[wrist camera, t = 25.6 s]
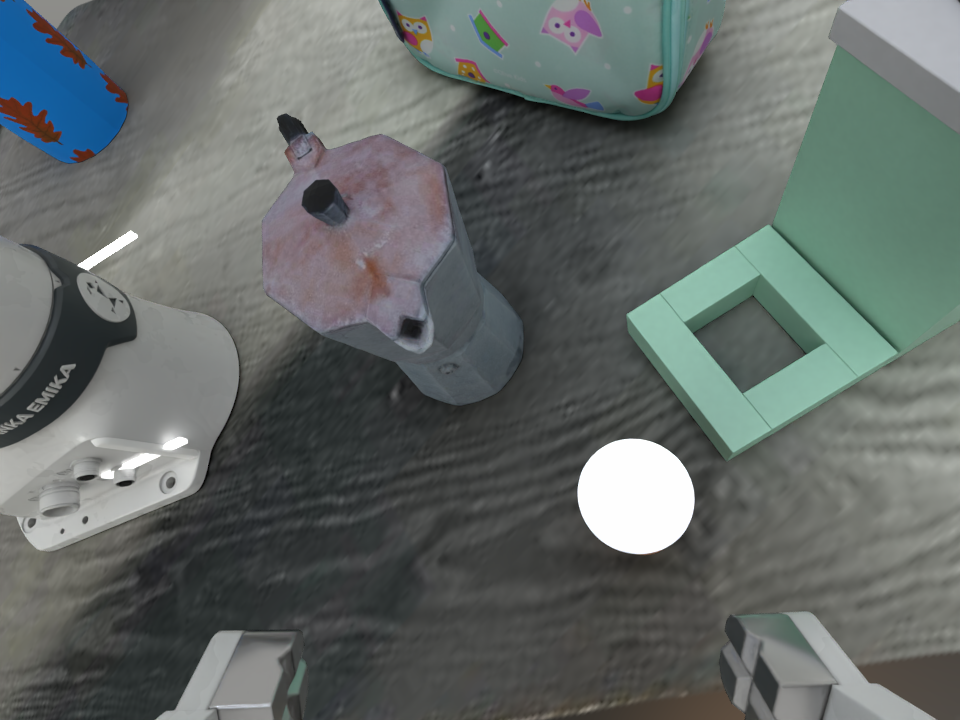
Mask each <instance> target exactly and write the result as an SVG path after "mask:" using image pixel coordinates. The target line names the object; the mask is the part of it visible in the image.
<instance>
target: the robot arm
mask: <svg viewBox="0 0 960 720" xmlns="http://www.w3.org/2000/svg"><path fill="white" fill-rule="evenodd" d="M137 237H138V236H137V234H135V233H133V232H132V231H130V232H128V233H127V234H125V235H124V236H122V237H120V238H119V239H117V240H116V241H114V242H113V243H111V244H110V245H108V246H107V247H105V248H104V249H102V250H100V251H99V252H97V253H96V254H94V255H93V256H91V257H90V258H88V259H87V260H85V261H84V262H82V263H80V264H79V265H76V264H74V263H72V262H70V261H67V260H65V259H63V258H61V257H59V256H57V255H55V254H52V253H50V252H48V251H46V250H44V249H42V248H39V247H37V246H34V245H28V244H17V243H15V242H13V241H11V240H9V239H7V238H4V237H2V236H0V513H1V514H4V515H10V516H16V517H17V520H18V523H19V525H20V528H21V530H22V532H23V533H24V535H25V536H26V538H27V540H28V541H29V542H30V543H31V544H32V545H33V546H34V547H35V548H36V549H38V550H41V551H50V552H51V551H55V550H58V549H60V548H63V547H65V546H68V545H70V544H73V543H75V542H78V541H80V540H83V539H85V538H87V537H90V536H92V535H95V534H97V533H100V532H102V531H104V530H107V529H109V528H112V527H114V526H117V525H119V524H122V523H124V522H126V521H129V520H131V519H134V518H136V517H139V516H141V515H143V514H146V513H148V512H151V511H153V510H156V509H158V508H161V507H163V506H165V505H168V504H170V503H173V502H175V501H178V500H180V499H182V498H185V497H187V496H190V495H192V494H194V493H195V492H197V491H198V490H199V488H200V487H201V486H202V484H203V481H204V479H205V476H206V472H207V468H208V464H209V459H210V454H211V450H212V448H213V445H214V443H215V441H216V440H217V438H218V436H219V434H220V433H221V431H222V429H223V427H224V426H225V424H226V422H227V420H228V417H229V415H230V413H231V410H232V408H233V405H234V401H235V398H236V394H237V389H238V382H239V360H238V354H237V350H236V347H235V344H234V342H233V339H232V337H231V336H230V334H229V332H228V331H227V330H226V328H225V327H224V326H223V325H222V324H221V323H220V322H218V321H217V320H216V319H214V318H212V317H210V316H208V315H206V314H202V313H198V312H192V311H186V310H180V309H176V308H172V307H168V306H164V305H161V304H157V303H154V302H151V301H148V300H145V299H142V298H139V297H136V296H133V295H130V294H127V293H125V292H122V291H121V290H119V289H118V288H116V287H115V286H113V285H112V284H110V283H108V282H107V281H105V280H104V279H102V278H100V277H99V276H97V275H95V274H93V273H92V272H90V271H88V269H90V268H91V267H93V266H94V265H96V264H97V263H99V262H100V261H102V260H103V259H105V258H107V257H108V256H110V255H111V254H113V253H114V252H116V251H117V250H119V249H120V248H122V247H124V246H125V245H127V244H128V243H130V242H131V241H133V240H134V239H136V238H137ZM174 481H175V485H174ZM173 485H174V486H173ZM725 632H726V634H727V636H728V638H729V639H730V640H729V641H728V642H727V643H726V644H725V645H724V646H723V647H722V648H721V653H720V660H719V665H720V673H721V679H722V682H723V685H724V688H725V691H726V693H727V695H728V697H729V699H730V701H731V703H732V704H733V705H734V706H735V707H737V708H738V709H739V710H741V711H742V712H743V713H744V714H746V716H745V720H936V719H935V718H933V717H932V716H930V715H928V714H927V713H925V712H924V711H922V710H920V709H919V708H917V707H915V706H914V705H912V704H910V703H909V702H907V701H906V700H904V699H902V698H901V697H899V696H897V695H896V694H894V693H892V692H891V691H889V690H888V689H886V688H884V687H882V686H881V685H879V684H870V683H869V682H868V681H867V680H866V679H865V677H864V676H863V675H862V673H861V672H860V671H859V670H858V668H857V667H856V666H855V665H854V664H853V662H852V661H851V660H850V659H849V657H848V656H847V655H846V654H845V652H844V651H843V650H842V649H841V647H840V646H839V645H838V644H837V642H836V641H835V640H834V639H833V637H832V636H831V635H830V634H829V632H828V631H827V630H826V629H825V627H824V626H823V625H822V624H821V623H820V621H819V620H818V619H817V618H816V616H815V615H813V614H812V613H810V612H808V611H803V612H782V613H759V614H737V615H730V616H729V618H728V619H727V621H726V626H725ZM304 646H305V644H304V638H303V633H302V631H301V630H246V631H218V632H217V633H216V634H215V635H214V636H213V637H212V639H211V641H210V643H209V645H208V647H207V649H206V650H205V652H204V654H203V656H202V658H201V660H200V662H199V664H198V666H197V668H196V670H195V672H194V674H193V676H192V678H191V680H190V682H189V683H188V685H187V687H186V689H185V691H184V693H183V695H182V697H181V699H180V701H179V703H178V705H177V707H176V709H175V711H165V712H164V713H163V714H162V715H160V716H159V717H158V718H157V719H155V720H302V719H303V715H304V711H305V707H306V702H307V694H308V666H307V663H306V662H305V661H304V660H303V659H302V658H301V656H302V652H303V649H304Z"/></svg>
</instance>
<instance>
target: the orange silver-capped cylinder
mask: <svg viewBox="0 0 960 720" xmlns="http://www.w3.org/2000/svg"><path fill="white" fill-rule="evenodd" d="M577 496H578V504H579V508H580V512H581V514H582V517H583V519H584V521H585V523H586V524H587V526H588V527H589V529H590V530H591V531H592V532H593V534H594V535H595V536H596V537H597V538H598V539H600V540H601V541H602V542H603V543H605V544H606V545H608V546H610V547H612V548H614V549H616V550H618V551H621V552H625V553H629V554H637V555H650V554H655V553H658V552H660V551H662V550H664V549H665V548H667V547H669V546H670V545H672V544H673V543H675V542H676V541H677V540H678V539H679V538H680V537H681V536H682V535H683V533H684V532H685V531H686V529H687V527H688V526H689V524H690V521H691V519H692V516H693V511H694V504H695V495H694V489H693V484H692V481H691V478H690V476H689V474H688V472H687V470H686V469H685V467H684V465H683V464H682V463H681V462H680V460H679V459H678V458H677V457H676V456H675V455H674V454H673V453H671V452H670V451H669V450H667V449H666V448H664V447H662V446H661V445H658V444H656V443H654V442H651V441H647V440H642V439H622V440H618V441H615V442H612V443H609V444H607V445H605V446H604V447H602V448H601V449H599V450H598V451H597V452H595V453H594V454H593V455H592V456H591V458H590V459H589V460H588V461H587V463H586V464H585V466H584V468H583V470H582V472H581V475H580V478H579V482H578V493H577Z"/></svg>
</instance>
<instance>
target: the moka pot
mask: <svg viewBox="0 0 960 720" xmlns="http://www.w3.org/2000/svg"><path fill="white" fill-rule="evenodd" d="M277 120H278V123H279V130H280V132H281V133H282V135H283V136H284V138H285V140H286V141H287V143H288V145H289V146H288V148H287V149H286V150H285V152H284V153H285V155H286V157H287V158H288V160H289V162H290V164H291V166H292V168H293V170H294V176H293V178H292V179H291V181H290V182H289V184H288V185H287V187H286V188H285V189H284V191H283V192H282V193H281V195H280V196H279V197H278V199H277V200H276V202H275V203H274V204H273V206H272V207H271V208H270V210H269V211H268V213H267V214H266V215H265V217H264V218H263V220H262V265H263V289H264V291H265V293H266V295H267V296H269V297H270V298H271V299H273V300H274V301H276V302H277V303H278V304H280V305H281V306H282V307H284V308H285V309H286V310H288V311H289V312H291V313H292V314H293V315H295V316H296V317H297V318H299V319H300V320H301V321H303V322H304V323H305V324H307V325H308V326H309V327H311V328H312V329H314V330H315V331H317V332H318V333H320V334H321V335H323V336H325V337H328V338H331V339H334V340H336V341H339V342H342V343H345V344H347V345H350V346H352V347H355V348H358V349H361V350H364V351H366V352H369V353H371V354H374V355H377V356H380V357H382V358H385V359H387V360H390V361H394V362H396V363H397V364H398V365H399V367H400V368H401V369H402V370H403V371H404V372H405V374H406V375H407V376H408V377H409V378H410V379H411V381H412V382H413V383H414V384H415V385H416V386H417V387H418V389H419V390H420V391H421V392H422V393H423V394H424V395H426V396H429V397H431V398H434V399H436V400H439V401H442V402H445V403H449V404H451V405H459V406H462V405H467V404H471V403H475V402H477V401H480V400H483V399H485V398H487V397H489V396H492V395H494V394H496V393H497V392H499V391H500V390H501V389H502V388H503V387H504V385H505V384H506V383H507V382H508V381H509V380H510V378H511V377H512V375H513V374H514V372H515V370H516V369H517V367H518V365H519V364H520V362H521V359H522V354H523V339H524V336H523V322H522V320H521V318H520V317H519V315H518V314H517V313H516V311H515V310H514V309H513V308H512V306H511V305H510V304H509V303H508V301H507V300H506V299H505V298H504V296H503V295H502V294H501V293H500V292H499V291H498V290H497V289H496V288H495V287H493V286H492V285H491V284H490V283H489V282H488V281H487V280H485V279H484V278H483V277H482V276H481V275H480V274H479V273H478V272H477V270H476V264H475V259H474V254H473V250H472V247H471V244H470V241H469V238H468V235H467V232H466V229H465V226H464V223H463V220H462V217H461V214H460V211H459V208H458V205H457V202H456V199H455V195H454V192H453V189H452V186H451V183H450V180H449V177H448V173H447V170H446V168H445V166H444V165H442V164H441V163H438V162H436V161H435V160H433V159H431V158H429V157H427V156H425V155H424V154H422V153H420V152H418V151H416V150H414V149H412V148H410V147H408V146H406V145H404V144H402V143H400V142H398V141H396V140H394V139H392V138H390V137H388V136H385V135H382V134H379V135H374V136H370V137H367V138H365V139H362V140H359V141H356V142H352V143H349V144H346V145H344V146H341V147H337V148H334V149H331V150H330V149H326V148H325V147H324V145H323V143H322V142H321V140H320V139H319V138H318V137H317V136H316V135H315V134H314V133H313V132H310V133H308V132H307V130H306V129H305V128H304V125H303V124H302V123H301V121H299V120H298V119H296V118H294V117H291V116H289V115H288V114H283V115H280V116H278V118H277Z"/></svg>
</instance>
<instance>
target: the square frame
mask: <svg viewBox="0 0 960 720" xmlns="http://www.w3.org/2000/svg"><path fill="white" fill-rule="evenodd" d="M752 295H753V296H754V297H755V298H756V299H757V300H758V301H759V302H760V303H761V305H762V306H763V307H764V308H765V309H766V310H767V311H768V312H769V313H770V314H771V315H772V317H773V318H774V319H775V320H776V321H777V322H778V323H779V324H780V325H781V326H782V327H783V329H784V330H785V331H786V332H787V333H788V334H789V335H790V336H791V337H792V338H793V339H794V341H795V342H796V343H797V344H798V345H799V346H800V347H801V348H802V349H803V350H804V351H805V353H806V355H805V356H803V357H801V358H800V359H798V360H796V361H795V362H793V363H792V364H790V365H788V366H787V367H785V368H783V369H782V370H780V371H779V372H777V373H775V374H774V375H772V376H770V377H769V378H767V379H766V380H764V381H762V382H761V383H759V384H757V385H756V386H754V387H753V388H751V389H749V390H748V391H746V392H744V393H743V394H742V393H741V392H740V390H739V389H738V388H737V387H736V386H735V384H734V383H733V382H732V381H731V380H730V378H729V377H728V376H727V375H726V373H725V372H724V371H723V370H722V369H721V367H720V366H719V365H718V364H717V363H716V361H715V360H714V359H713V358H712V356H711V355H710V354H709V353H708V352H707V350H706V349H705V348H704V347H703V346H702V344H701V343H700V342H699V341H698V339H697V338H696V337H695V336H694V335H693V333H694V332H695V331H697V330H698V329H700V328H702V327H703V326H705V325H706V324H708V323H710V322H711V321H713V320H714V319H716V318H718V317H719V316H721V315H722V314H724V313H726V312H727V311H729V310H730V309H732V308H734V307H735V306H737V305H738V304H740V303H742V302H743V301H745V300H746V299H748V298H749V297H751V296H752ZM626 317H627V326H628V333H629V334H630V336H631V337H632V338H633V340H634V341H635V342H636V343H637V345H638V346H639V347H640V349H641V350H642V351H643V353H644V354H645V355H646V357H647V358H648V359H649V361H650V362H651V363H652V364H653V366H654V367H655V368H656V370H657V371H658V372H659V374H660V375H661V376H662V378H663V379H664V380H665V382H666V383H667V384H668V386H669V387H670V388H671V389H672V391H673V392H674V393H675V395H676V396H677V397H678V399H679V400H680V401H681V403H682V404H683V405H684V407H685V408H686V409H687V410H688V412H689V413H690V414H691V416H692V417H693V418H694V420H695V421H696V422H697V424H698V425H699V426H700V428H701V429H702V430H703V432H704V433H705V434H706V435H707V437H708V438H709V439H710V441H711V442H712V443H713V445H714V446H715V447H716V449H717V450H718V451H719V453H720V454H721V455H722V456H723V458H724V459H725V460H726V461H729V460H730V459H732V458H734V457H735V456H737V455H739V454H740V453H742V452H744V451H745V450H747V449H748V448H750V447H752V446H753V445H755V444H757V443H758V442H760V441H762V440H763V439H765V438H767V437H768V436H770V435H772V434H773V433H775V432H777V431H778V430H780V429H782V428H783V427H785V426H786V425H788V424H790V423H791V422H793V421H795V420H796V419H798V418H800V417H801V416H803V415H805V414H806V413H808V412H810V411H811V410H813V409H815V408H816V407H818V406H820V405H821V404H823V403H824V402H826V401H828V400H829V399H831V398H833V397H834V396H836V395H838V394H839V393H841V392H842V391H844V390H846V389H848V388H849V387H851V386H852V385H854V384H856V383H857V382H859V381H861V380H862V379H864V378H866V377H867V376H869V375H871V374H872V373H874V372H876V371H877V370H879V369H880V368H881V367H882V366H883V365H885V364H886V363H887V362H888V361H889V360H891V359H892V358H893V357H894V356H896V355H897V354H898V352H897V351H896V350H895V349H894V348H893V347H892V346H891V345H890V344H889V343H888V342H887V341H886V340H885V339H884V338H883V337H882V336H881V335H880V334H879V333H878V332H877V331H876V330H875V329H874V328H873V327H872V326H871V325H870V324H869V323H868V322H867V321H866V320H865V319H864V318H863V317H862V316H861V315H860V314H859V313H858V312H857V311H856V310H855V309H854V308H853V307H852V306H851V305H850V304H849V303H848V302H847V301H846V300H845V299H844V298H843V297H842V296H841V295H840V294H839V293H838V292H837V291H836V290H835V289H834V288H833V287H832V286H831V285H830V284H829V283H828V282H827V281H826V280H825V279H824V278H823V277H822V276H821V275H819V274H818V273H817V272H816V271H815V270H814V269H813V268H812V267H811V266H810V265H809V264H808V263H807V262H806V261H805V260H804V259H803V258H802V257H801V256H800V255H799V254H798V253H797V252H796V251H795V250H794V249H793V248H792V247H791V246H790V245H789V244H788V243H787V242H786V241H785V240H784V239H783V238H782V237H781V236H780V235H779V234H778V233H777V232H776V231H775V230H774V229H773V228H772V227H771V226H770V225H767V226H765V227H763V228H762V229H760V230H759V231H757V232H756V233H754V234H752V235H751V236H749V237H748V238H746V239H745V240H743V241H741V242H740V243H738V244H737V245H735V246H733V247H732V248H730V249H729V250H727V251H725V252H724V253H722V254H721V255H719V256H718V257H716V258H714V259H713V260H711V261H710V262H708V263H707V264H705V265H703V266H702V267H700V268H699V269H697V270H696V271H694V272H692V273H691V274H689V275H688V276H686V277H685V278H683V279H681V280H680V281H678V282H677V283H675V284H674V285H672V286H670V287H669V288H667V289H666V290H664V291H663V292H661V293H660V294H658V295H656V296H655V297H653V298H652V299H650V300H648V301H647V302H645V303H644V304H642V305H641V306H639V307H637V308H636V309H634V310H633V311H631V312H630V313H628V314H627V315H626Z"/></svg>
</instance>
